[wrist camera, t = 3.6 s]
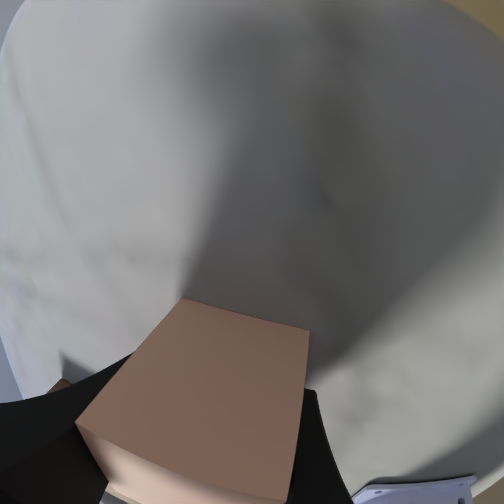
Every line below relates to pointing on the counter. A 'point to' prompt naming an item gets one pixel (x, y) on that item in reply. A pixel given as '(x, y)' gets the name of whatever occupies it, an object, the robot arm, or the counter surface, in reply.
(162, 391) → the terracotta block
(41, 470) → the robot arm
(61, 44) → the counter surface
